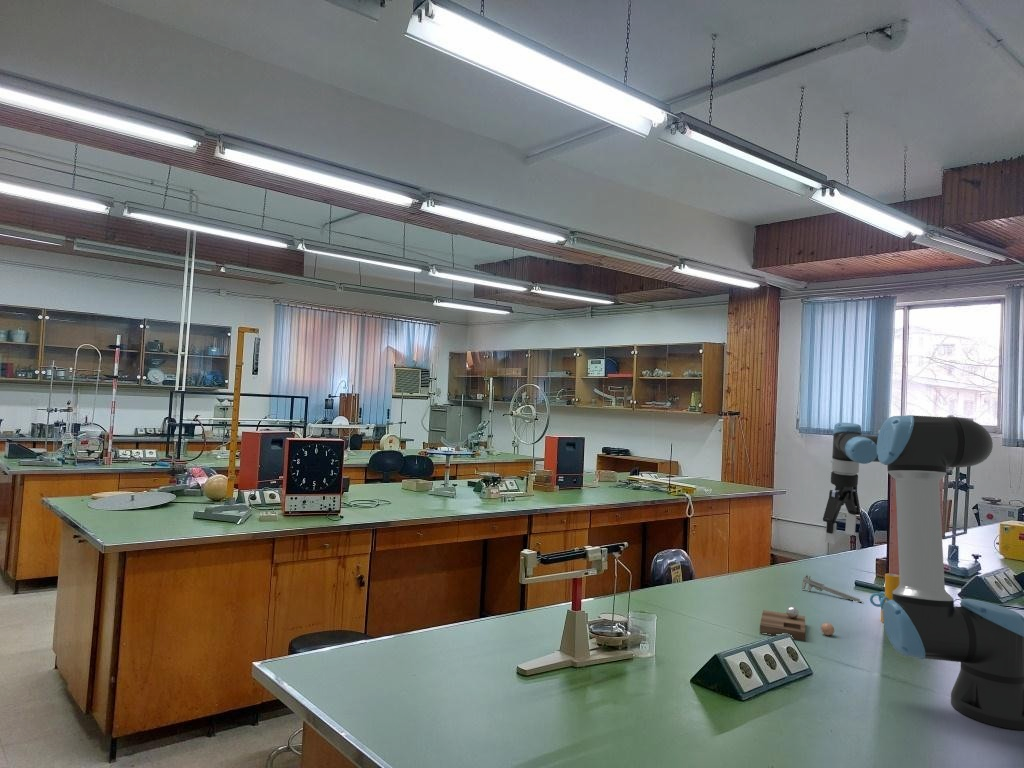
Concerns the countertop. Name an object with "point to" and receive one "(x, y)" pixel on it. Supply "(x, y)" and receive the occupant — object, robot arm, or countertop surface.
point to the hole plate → (782, 624)
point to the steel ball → (792, 612)
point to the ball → (827, 629)
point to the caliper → (825, 588)
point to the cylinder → (886, 591)
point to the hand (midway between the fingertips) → (840, 538)
